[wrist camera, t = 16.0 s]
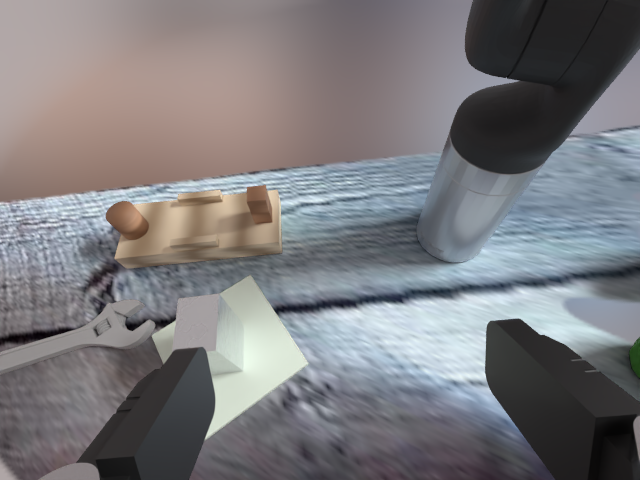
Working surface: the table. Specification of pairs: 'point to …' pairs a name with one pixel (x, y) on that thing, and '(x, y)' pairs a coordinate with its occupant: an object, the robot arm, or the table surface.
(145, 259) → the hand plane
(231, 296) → the mat
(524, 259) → the table surface
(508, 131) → the robot arm
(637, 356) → the bell pepper
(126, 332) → the adjustable wrench
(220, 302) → the grey block
